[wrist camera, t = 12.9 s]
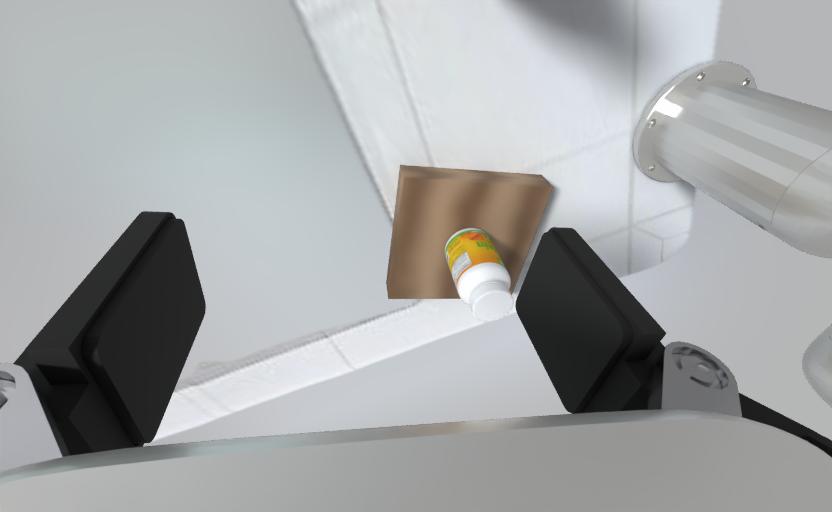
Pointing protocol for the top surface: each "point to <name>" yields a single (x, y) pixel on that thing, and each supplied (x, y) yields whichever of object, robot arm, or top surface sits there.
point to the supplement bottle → (479, 274)
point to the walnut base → (459, 224)
